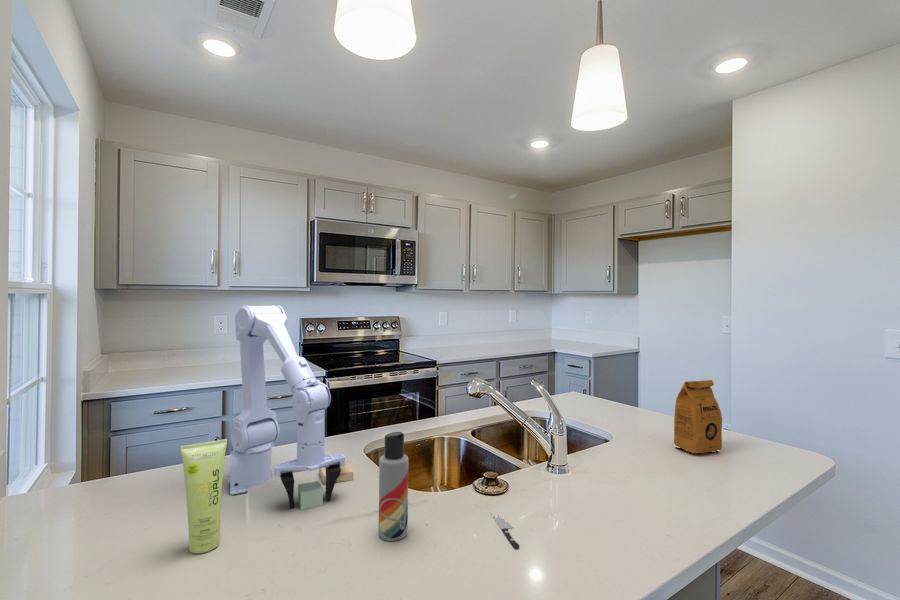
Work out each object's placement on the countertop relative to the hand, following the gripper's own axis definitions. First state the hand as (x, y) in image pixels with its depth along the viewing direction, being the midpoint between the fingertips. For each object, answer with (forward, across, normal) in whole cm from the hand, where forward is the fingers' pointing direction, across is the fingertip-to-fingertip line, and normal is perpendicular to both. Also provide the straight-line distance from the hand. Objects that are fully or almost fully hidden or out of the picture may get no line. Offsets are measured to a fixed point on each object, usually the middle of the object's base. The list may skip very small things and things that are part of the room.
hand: (310, 502), depth 94 cm
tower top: (0, +8, +11) cm, 14 cm away
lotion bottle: (+2, +13, -17) cm, 21 cm away
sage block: (+2, 0, 0) cm, 2 cm away
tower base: (+2, +8, +11) cm, 14 cm away
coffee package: (+2, +114, -14) cm, 115 cm away
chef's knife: (+2, +35, -23) cm, 42 cm away
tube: (+2, -20, -6) cm, 21 cm away
